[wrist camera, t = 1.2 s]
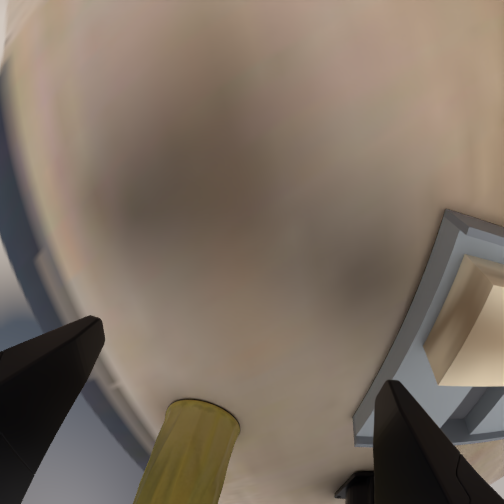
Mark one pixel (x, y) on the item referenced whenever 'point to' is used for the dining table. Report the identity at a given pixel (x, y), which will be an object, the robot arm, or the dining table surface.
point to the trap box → (417, 330)
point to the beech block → (470, 328)
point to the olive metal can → (189, 455)
